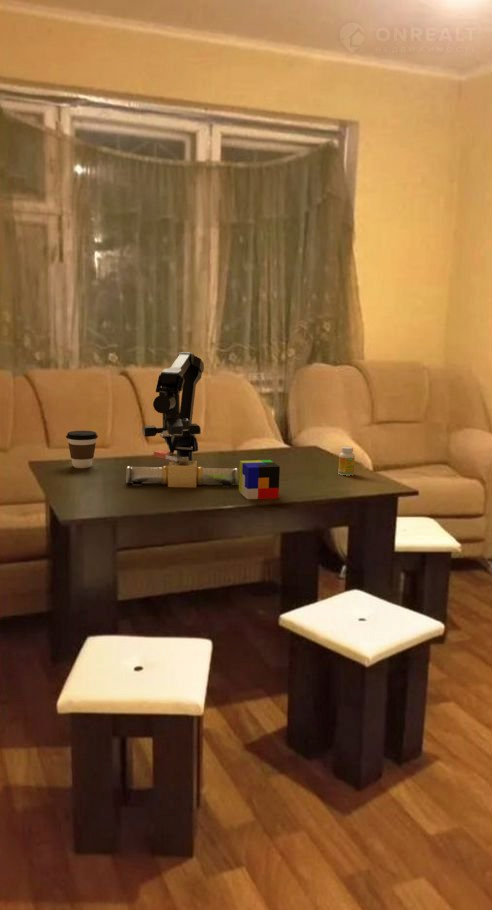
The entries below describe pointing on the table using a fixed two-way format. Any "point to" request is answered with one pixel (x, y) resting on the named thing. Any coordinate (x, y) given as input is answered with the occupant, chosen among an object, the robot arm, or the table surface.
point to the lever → (170, 456)
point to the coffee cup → (82, 447)
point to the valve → (181, 475)
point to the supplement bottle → (346, 461)
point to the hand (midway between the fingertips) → (171, 455)
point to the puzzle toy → (259, 479)
